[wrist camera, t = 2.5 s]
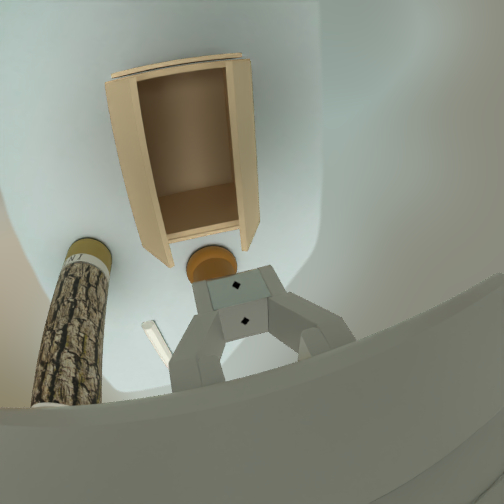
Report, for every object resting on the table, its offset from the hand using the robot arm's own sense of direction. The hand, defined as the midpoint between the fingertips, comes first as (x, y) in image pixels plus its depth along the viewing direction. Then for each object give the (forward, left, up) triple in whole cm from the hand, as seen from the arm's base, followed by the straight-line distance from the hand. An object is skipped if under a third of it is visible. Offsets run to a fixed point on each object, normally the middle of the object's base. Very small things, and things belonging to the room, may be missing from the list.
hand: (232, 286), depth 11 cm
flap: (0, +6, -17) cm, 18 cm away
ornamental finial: (+20, +1, -27) cm, 34 cm away
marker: (+37, -11, -28) cm, 47 cm away
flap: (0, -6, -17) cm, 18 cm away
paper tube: (+14, -16, -27) cm, 35 cm away
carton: (0, 0, -27) cm, 27 cm away
